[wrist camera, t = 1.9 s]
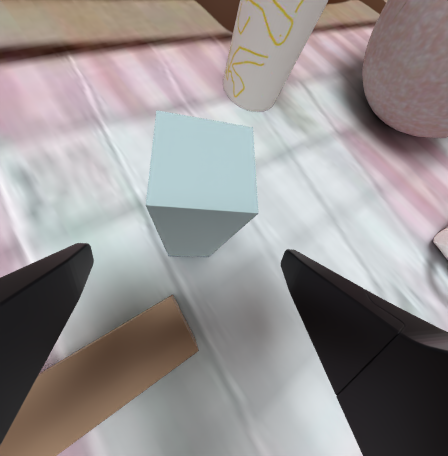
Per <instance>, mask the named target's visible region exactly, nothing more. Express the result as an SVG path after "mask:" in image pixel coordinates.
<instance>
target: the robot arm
mask: <svg viewBox="0 0 448 456" xmlns="http://www.w3.org/2000/svg"><path fill="white" fill-rule="evenodd" d="M93 262H94V259H93V255H92V250H91V246H90V245H89V244H88V243H77V244H74V245H72V246H70V247H68V248H65V249H63V250H61V251H59V252H56V253H54V254H52V255H50V256H48V257H45V258H43V259H41V260H39V261H37V262H34V263H32V264H30V265H28V266H25V267H23V268H21V269H19V270H17V271H14V272H12V273H10V274H8V275H5V276H3V277H1V278H0V445H1V443H2V442H3V440H4V438H5V436H6V434H7V432H8V430H9V429H10V427H11V425H12V423H13V421H14V419H15V417H16V416H17V414H18V412H19V410H20V408H21V406H22V404H23V403H24V401H25V399H26V397H27V395H28V393H29V391H30V390H31V388H32V386H33V384H34V382H35V380H36V378H37V377H38V375H39V373H40V371H41V369H42V367H43V365H44V364H45V362H46V360H47V358H48V356H49V354H50V352H51V351H52V349H53V347H54V345H55V343H56V341H57V339H58V338H59V336H60V334H61V332H62V330H63V328H64V326H65V325H66V323H67V321H68V319H69V317H70V315H71V313H72V312H73V310H74V308H75V306H76V304H77V302H78V300H79V298H80V296H81V294H82V291H83V289H84V286H85V284H86V281H87V279H88V276H89V274H90V271H91V269H92V266H93ZM281 268H282V271H283V274H284V277H285V280H286V283H287V286H288V289H289V292H290V294H291V296H292V299H293V301H294V303H295V305H296V308H297V310H298V312H299V314H300V316H301V319H302V321H303V323H304V325H305V328H306V330H307V332H308V334H309V336H310V339H311V341H312V343H313V345H314V348H315V350H316V352H317V354H318V356H319V359H320V361H321V363H322V365H323V367H324V370H325V372H326V374H327V376H328V379H329V381H330V383H331V385H332V387H333V390H334V392H335V394H336V395H337V399H338V401H339V403H340V406H341V408H342V410H343V412H344V414H345V417H346V419H347V421H348V423H349V425H350V428H351V430H352V432H353V434H354V437H355V439H356V441H357V443H358V445H359V448H360V450H361V452H362V454H363V456H448V332H446V331H444V330H442V329H440V328H438V327H436V326H434V325H432V324H430V323H428V322H426V321H424V320H422V319H420V318H418V317H416V316H414V315H412V314H410V313H408V312H406V311H404V310H403V309H401V308H399V307H397V306H395V305H393V304H391V303H389V302H387V301H385V300H383V299H382V298H380V297H378V296H376V295H374V294H373V293H371V292H369V291H367V290H365V289H363V288H362V287H360V286H358V285H356V284H355V283H353V282H351V281H349V280H347V279H346V278H344V277H342V276H340V275H339V274H337V273H335V272H333V271H331V270H330V269H328V268H326V267H324V266H322V265H321V264H319V263H317V262H315V261H314V260H312V259H310V258H308V257H306V256H305V255H303V254H301V253H299V252H297V251H296V250H290V249H287V250H286V251H285V253H284V255H283V258H282V260H281Z"/></svg>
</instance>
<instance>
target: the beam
mask: <svg viewBox="0 0 448 456" xmlns="http://www.w3.org/2000/svg"><path fill="white" fill-rule="evenodd" d="M198 351H199V350H198V347H197V343H196V339H195V337H194V335H193V333H192V331H191V329H190V328H189V326H188V324H187V322H186V320H185V318H184V316H183V314H182V312H181V310H180V308H179V306H178V304H177V302H176V300H175V298H174V296H173V295H171V296H169V297H168V298H166V299H164V300H163V301H161V302H159V303H157V304H156V305H154V306H152V307H151V308H149V309H147V310H146V311H144V312H142V313H141V314H139V315H137V316H136V317H134V318H132V319H131V320H129V321H127V322H126V323H124V324H122V325H120V326H119V327H117V328H115V329H114V330H112V331H110V332H109V333H107V334H105V335H104V336H102V337H100V338H99V339H97V340H95V341H94V342H92V343H90V344H89V345H87V346H85V347H83V348H82V349H80V350H78V351H77V352H75V353H73V354H72V355H70V356H68V357H67V358H65V359H63V360H62V361H60V362H58V363H57V364H55V365H53V366H52V367H50V368H48V369H47V370H45V371H43V372H41V373H40V374H39V375H38V377H37V378H36V380H35V382H34V384H33V386H32V388H31V390H30V391H29V393H28V395H27V397H26V399H25V401H24V403H23V404H22V406H21V408H20V410H19V412H18V414H17V416H16V417H15V419H14V421H13V423H12V425H11V427H10V429H9V430H8V432H7V434H6V436H5V438H4V440H3V442H2V443H1V445H0V456H56V455H58V454H59V453H60V452H62V451H63V450H65V449H66V448H67V447H69V446H70V445H71V444H73V443H74V442H75V441H77V440H78V439H79V438H81V437H82V436H84V435H85V434H86V433H88V432H89V431H90V430H92V429H93V428H94V427H96V426H97V425H98V424H100V423H101V422H103V421H104V420H105V419H107V418H108V417H109V416H111V415H112V414H113V413H115V412H116V411H118V410H119V409H120V408H122V407H123V406H124V405H126V404H127V403H128V402H130V401H131V400H132V399H134V398H135V397H137V396H138V395H139V394H141V393H142V392H143V391H145V390H146V389H147V388H149V387H150V386H151V385H153V384H154V383H156V382H157V381H158V380H160V379H161V378H162V377H164V376H165V375H166V374H168V373H169V372H170V371H172V370H173V369H175V368H176V367H177V366H179V365H180V364H181V363H183V362H184V361H185V360H187V359H188V358H189V357H191V356H192V355H194V354H195V353H196V352H198Z"/></svg>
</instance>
